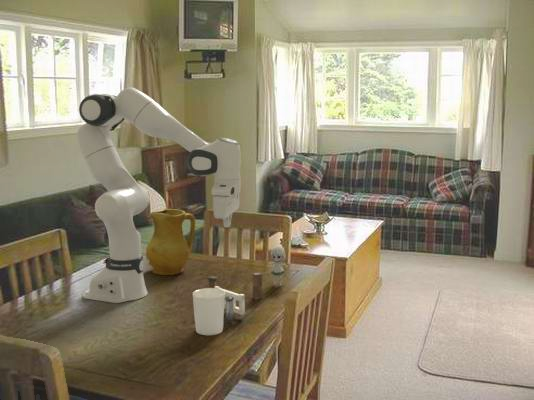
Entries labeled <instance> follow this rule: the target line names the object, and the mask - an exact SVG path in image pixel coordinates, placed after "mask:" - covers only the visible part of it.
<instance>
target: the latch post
mask: <svg viewBox="0 0 534 400" xmlns="http://www.w3.org/2000/svg"><path fill="white" fill-rule="evenodd" d="M225 300H226V309H225V323H227V324H232V323H234V312H233V300H234V297H232V296H227V297H225Z"/></svg>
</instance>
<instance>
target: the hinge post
mask: <svg viewBox="0 0 534 400" xmlns="http://www.w3.org/2000/svg"><path fill="white" fill-rule="evenodd" d="M217 278H218V277H217V276H208V277H207V281H208V288H214V287H215V286H217Z"/></svg>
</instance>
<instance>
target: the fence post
mask: <svg viewBox="0 0 534 400" xmlns="http://www.w3.org/2000/svg"><path fill="white" fill-rule="evenodd" d="M252 299H254V300H256V301H257V300H261V299H263V273H261V272H259V271H258V272H254V273H252Z"/></svg>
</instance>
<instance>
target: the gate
mask: <svg viewBox="0 0 534 400" xmlns="http://www.w3.org/2000/svg"><path fill="white" fill-rule="evenodd" d="M214 288H217V289H221V290H223V291H224V292H225V297H227V296H232V297H234V300H233V313H235V314H238V315H240V316H244V315H245V314H246V303H245V302H246V300H245V299H246V295H245V294H243V293H236V292H234V291H231V290H228V289H224V288H222V287H220V286H218V285H216V286H215V287H214ZM236 301H237V302H238V306H237V303H236ZM224 310H226V300H225V298H224Z"/></svg>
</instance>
